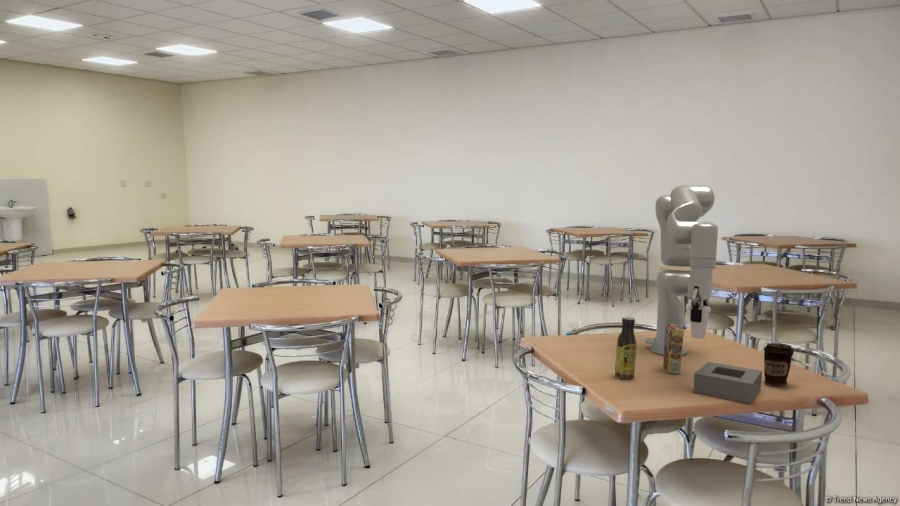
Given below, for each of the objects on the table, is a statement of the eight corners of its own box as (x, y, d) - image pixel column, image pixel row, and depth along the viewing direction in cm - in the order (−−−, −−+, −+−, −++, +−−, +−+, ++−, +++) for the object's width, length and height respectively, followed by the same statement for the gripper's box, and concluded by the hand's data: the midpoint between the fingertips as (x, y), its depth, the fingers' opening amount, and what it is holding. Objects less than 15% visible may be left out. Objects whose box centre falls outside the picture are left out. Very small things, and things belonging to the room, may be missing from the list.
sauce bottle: (624, 381, 193) (627, 321, 191) (610, 375, 198) (613, 317, 196) (639, 378, 196) (642, 319, 194) (625, 373, 201) (628, 315, 199)
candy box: (681, 374, 201) (684, 330, 199) (668, 373, 201) (670, 329, 200) (675, 366, 210) (677, 324, 208) (662, 366, 210) (665, 323, 208)
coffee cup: (790, 390, 186) (793, 349, 185) (760, 385, 190) (763, 345, 189) (791, 383, 193) (794, 343, 192) (762, 378, 198) (765, 340, 196)
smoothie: (710, 340, 183) (713, 295, 182) (688, 338, 185) (691, 294, 183) (706, 335, 189) (709, 292, 188) (685, 334, 191) (688, 290, 189)
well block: (693, 392, 183) (694, 373, 183) (706, 379, 196) (707, 361, 195) (750, 404, 174) (752, 384, 173) (760, 389, 187) (761, 370, 186)
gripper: (698, 259, 194) (694, 313, 195) (681, 264, 180) (678, 322, 182) (722, 261, 189) (719, 317, 191) (707, 267, 175) (703, 326, 177)
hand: (699, 319), depth 186 cm, fingers closed on smoothie, 6 cm apart
